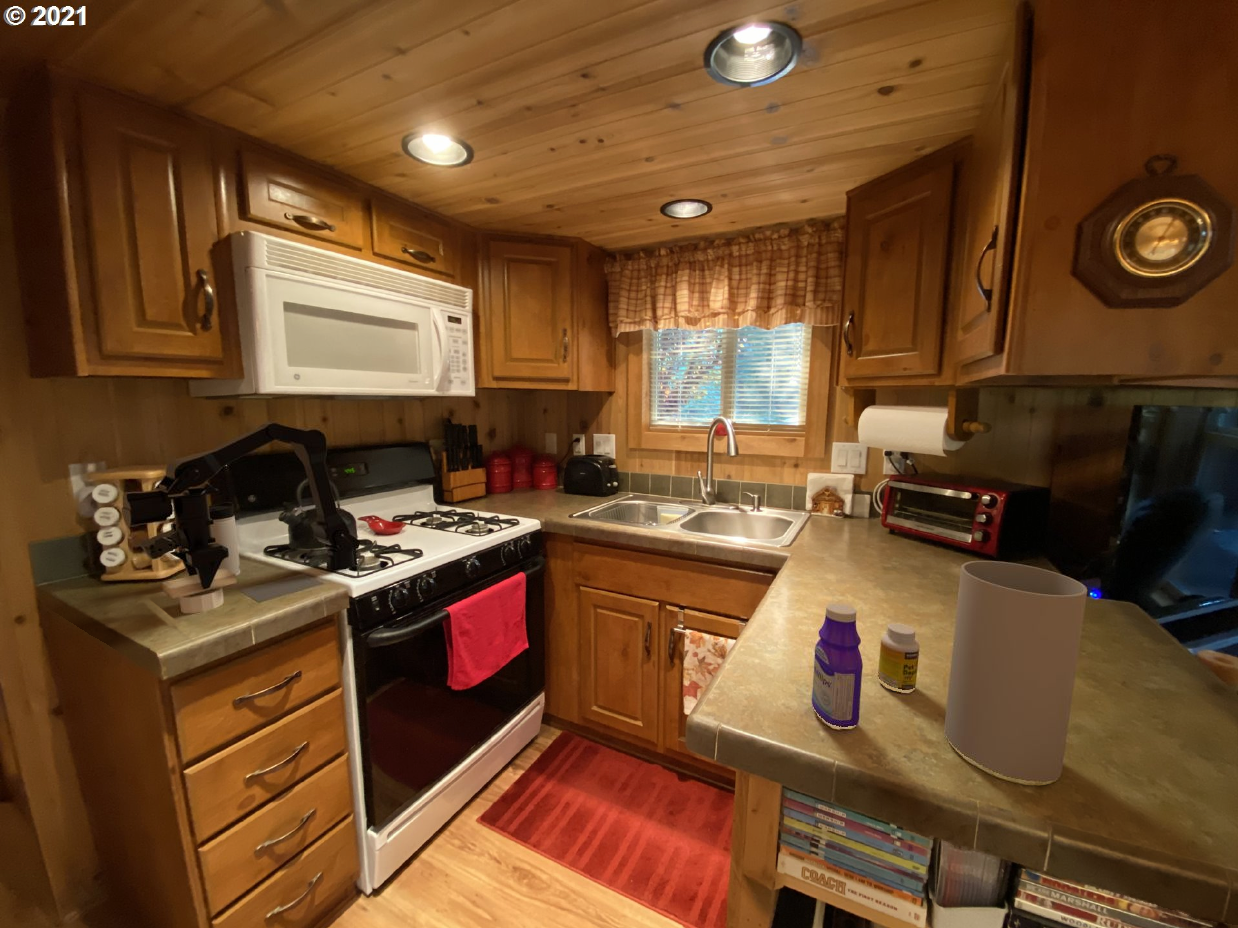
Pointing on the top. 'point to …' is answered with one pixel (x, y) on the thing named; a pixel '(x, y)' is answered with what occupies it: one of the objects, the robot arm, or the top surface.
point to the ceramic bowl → (202, 601)
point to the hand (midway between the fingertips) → (200, 584)
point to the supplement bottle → (899, 657)
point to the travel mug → (225, 534)
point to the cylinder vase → (1014, 667)
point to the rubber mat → (281, 587)
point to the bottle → (838, 667)
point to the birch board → (196, 584)
